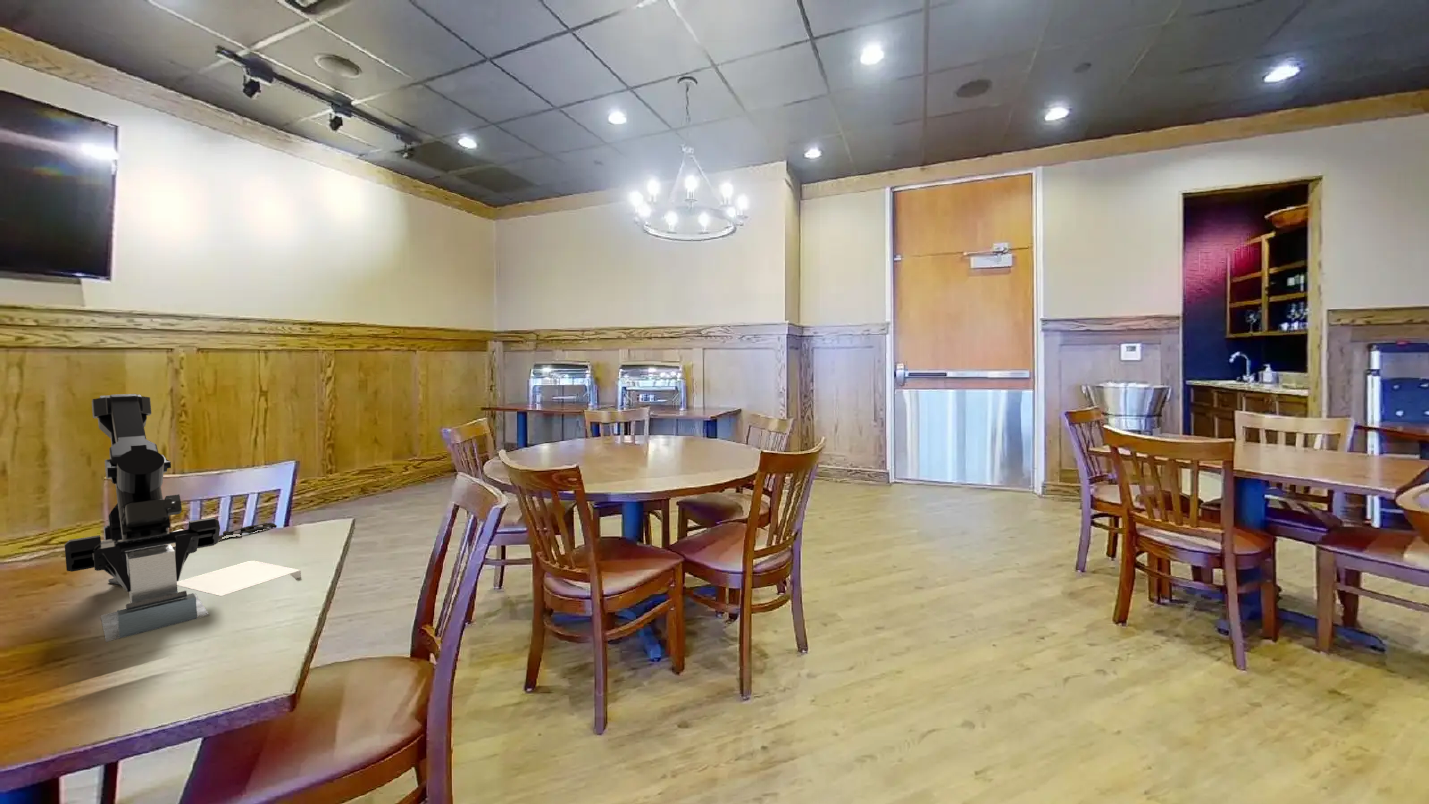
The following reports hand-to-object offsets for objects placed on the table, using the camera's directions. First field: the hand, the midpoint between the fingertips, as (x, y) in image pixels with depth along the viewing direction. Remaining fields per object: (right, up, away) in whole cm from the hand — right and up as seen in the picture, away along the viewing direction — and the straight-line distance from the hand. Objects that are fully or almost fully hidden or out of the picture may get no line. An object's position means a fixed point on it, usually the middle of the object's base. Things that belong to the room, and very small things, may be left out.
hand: (153, 585), depth 95 cm
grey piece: (-1, -7, +1) cm, 7 cm away
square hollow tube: (-1, -6, +1) cm, 6 cm away
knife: (-30, -4, +47) cm, 56 cm away
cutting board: (-2, -6, +19) cm, 20 cm away
